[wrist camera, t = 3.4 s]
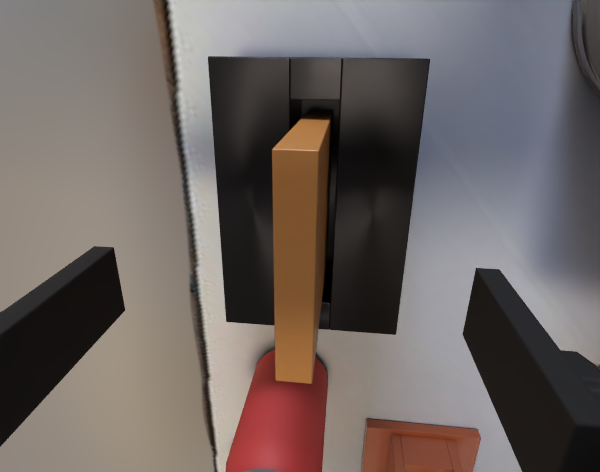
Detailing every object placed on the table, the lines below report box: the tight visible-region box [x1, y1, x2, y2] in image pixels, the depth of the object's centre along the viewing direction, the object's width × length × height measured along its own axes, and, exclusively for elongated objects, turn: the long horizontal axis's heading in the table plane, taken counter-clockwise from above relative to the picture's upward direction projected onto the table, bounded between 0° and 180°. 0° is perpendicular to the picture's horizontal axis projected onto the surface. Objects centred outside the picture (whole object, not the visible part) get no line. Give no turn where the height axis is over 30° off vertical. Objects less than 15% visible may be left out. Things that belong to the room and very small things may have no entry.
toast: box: [272, 110, 334, 384], centre depth 22 cm, size 2×10×14 cm, turn 179°
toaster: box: [208, 56, 430, 335], centre depth 26 cm, size 11×17×7 cm, turn 179°
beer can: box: [226, 350, 328, 472], centre depth 31 cm, size 7×7×12 cm
